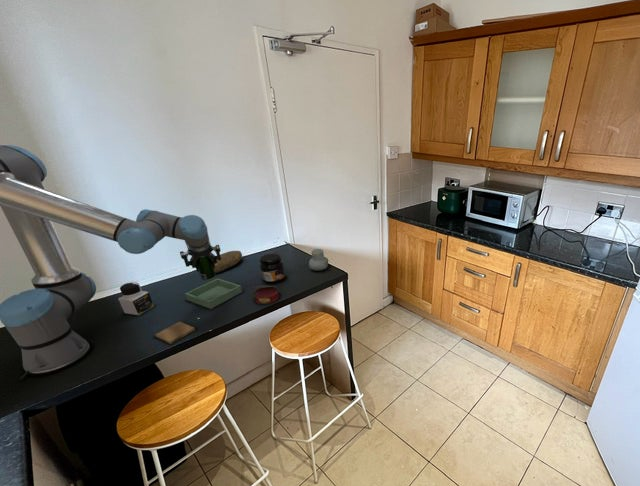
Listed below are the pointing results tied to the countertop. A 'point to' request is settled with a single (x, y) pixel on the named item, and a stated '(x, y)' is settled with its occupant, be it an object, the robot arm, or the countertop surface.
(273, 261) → the supplement container
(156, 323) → the countertop surface
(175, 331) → the coaster
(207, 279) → the beer can
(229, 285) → the bin
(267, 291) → the canned food
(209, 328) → the countertop surface
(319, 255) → the air freshener
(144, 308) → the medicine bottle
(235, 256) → the brown oval lump
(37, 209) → the robot arm
